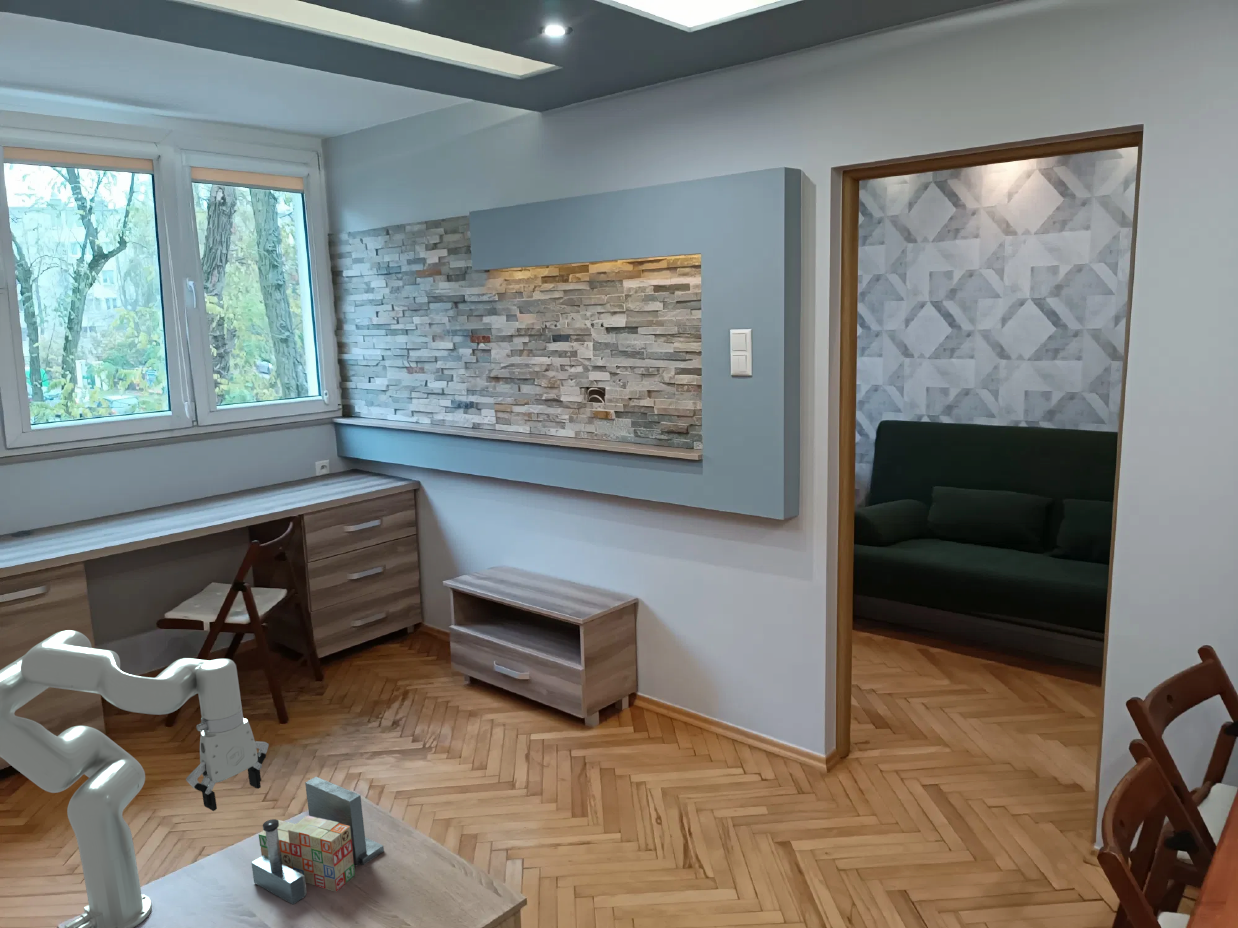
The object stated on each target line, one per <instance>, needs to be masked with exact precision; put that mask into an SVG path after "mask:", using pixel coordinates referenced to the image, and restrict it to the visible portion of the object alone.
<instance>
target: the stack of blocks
mask: <svg viewBox="0 0 1238 928" xmlns="http://www.w3.org/2000/svg"><path fill="white" fill-rule="evenodd" d="M277 820H278V821H279V827H278V828H277V829H278V837H279V845H280V853H281V860H282V864H283V865H285V866H287V867H289V868H291V869H293V870H295V871H297V872H299V873H301V874H303V875H304V876H305V883H307V884H309V885H314V886H316V887H319V888H322V889H326V890H329V891H332V892H338V891H339V890H340V889H341V888H342V887H344V886H345V884H347V882H349V881H350V880H351V879H352V878H354V877H355V876H356V875H355V874H356V873H355V872H356V871H355V865H354V863H353V852H352V850H353V849H352V839H351V830H350V826H348V825H344V824H339V823H338V822H335V821H331V820H326V819H321V818H316V817H312V816H309V814H308V815H306V816H304V817H303V818H302V819H301V820H299V821H298V822H297V823H293V822H288V821H285V820H280V819H277ZM258 842H259V846H260V853H261V856H263V855H264V856H265V855H266V856H268V857H269V854H268V847H267V839H266V831H264V830H263V831H260V833H259V834H258Z"/></svg>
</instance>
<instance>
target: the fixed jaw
mask: <svg viewBox="0 0 1238 928" xmlns="http://www.w3.org/2000/svg"><path fill="white" fill-rule="evenodd" d="M304 784H305V791H306V800H307V808H308V816H312V817H316V818H321V819H326V820H331V821H335V822H338V823H339V824H344V825H348V826H350V830H351V839H352V849H353V850H352V852H353V863H354V867H355V866H356V867H358V866H359V865H361V866H364V865H366V864H367V863H369V862H370V861H372V860H373V859H375V858H377V857H378V856H379V855H380V854H383V853H384V852H385V849H384V847H385V846H384V845H383V844H381V843H379V842H377V841H375V840H373V839H370V838H368V837H366V835H365V834H366V833H365V824H364V823H365V822H364V816H363V815H364V814H363V807H362V806H363V805H362V798H361V794H359V793H356V792H354V791H352V790H349V789H346V788H345V787H342V786H340V785H337V784H335V783H332V782H330V781H328V780H326V779H322V778H321V777H318V776H314V777H313V778H311V779H309V780H307V781H306V782H304Z"/></svg>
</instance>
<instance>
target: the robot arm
mask: <svg viewBox="0 0 1238 928" xmlns="http://www.w3.org/2000/svg"><path fill="white" fill-rule="evenodd" d="M49 688H55V689H60V690H61V689H62V690H71V691H76V692H84V693H92V694H97V695H100V696H102V698H103V699H104V700H106V702H108V703H110V704H111V705H113V706H114V707H116V708H118V709H121V710H123V711H127V712H132V713H138V714H146V715H155V716H156V715H159V716H161V715H168V714H171V713H174V712H175V711H178V709H180V708H181V707H182V706H183V705H184V704H185V703H186V702H187V701H188V700H189V699H191V698H192V697H194V696H196V695H197V694H198V700H199V707H200V715H201V718H200V721H201V722H200V723H199V724H196V726H195V727H196V731H198V732H200V738H199V740H200V741H199V763H200V764H198V766H197V767H196V768H194V769H193V770H192V771H191V772H190V774H189V775H188V776H186V778H185V781H186V782H187V783H188V784H189V785H190V786H191V788H193V789H195V790H197V791H198V792H201V794H202V800H203V806H204V807H205V808H207V809H208V810H211V811H213V812H215V811H216V810H217V809H218V807H217V799H216V793H215V792H214V791H213V789H214V787H215V785H216V783H221V782H224V781H225V780H228V779H230V778H232V777H234V776H236V775H238V774H241V773H242V772H245V771H246V770H247V775H248V782H249V785H250V787H253V788H255V789H257V790H258V789H261V787H262V786H261V782H262V777H261V769H262V766H263V764H264V763H263V762H264V761H265V759H266V757H267V752H268V748H269V745H270V744H269V743H267V742H266V741H257V740H255V737H254V734H253V733H254V732H253V731H252V727H251V725H250V722H249V720H248V719H247V718H244V715H243V713H244V712H243V707H242V701H241V700H242V699H241V691H240V684H239V677H238V669H237V664H236V663H235V661H234V660H232V659H230V658H216V659H211V660H207V659H199V658H192V657H183V658H179V659H177V660H175V661H173V662H172V663H171V664H169V665H168V666H167V667H166V668H165V669H163V670H162V671H161V672H160V673H159V674H158V675H157V676H155V677H150V676H149V677H148V676H140V675H134V674H129V673H127V672H124V671H122V670H121V659H120V656H119V655H118V653H117V652H116V651H113V650H109V649H101V648H95V647H92V643H91V641H90V638H88V637H87V636H86V635H85V634H84V633H82V632H80V631H77V630H71V629H67V630H62V631H58V632H56V633H53V634H52V635H50V636H49V637H47V638H45V639H44V640H42V641H40V642H39V643H37V644H36V645H34V646H32V647H31V648H30V649H29V650H28V651H27V652H26V653H25V654H23V656H20V657H19V658H17V659H16V660H15V661H13V662H11V663H9V664H8V665H5V667H3V668H1V669H0V758H1V759H3V760H4V761H5V762H6V763H8V764H9V765H10V766H12V768H14V769H15V770H16V771H18V773H19V772H20V774H22V775H23V776H24V777H25V778H27V779H28V780H29V781H31V782H32V783H33V784H35V785H36V786H37V787H39V788H40V789H42V791H43V790H44V791H45V792H48V793H52V794H55V793H56V794H57V793H61V792H63V791H65V790H67V789H69V788H70V787H72V786H73V784H75V783H76V782H77V781H79V780H80V779H81V777H82V776H83V775H85V776H86V777H87V778H88V779H87V780H85V781H84V782H83V783H82V784H81V785H80V786H79V787H78V789H76V791H75V792H74V793H73V795H72V796H71V798H70V800H69V802H68V805H67V809H66V810H67V811H66V812H67V819H68V821H69V824H70V826H71V828H72V831H73V832H74V835H75V838H76V843H77V846H78V851H79V857H80V861H81V866H82V873H83V878H84V884H85V891H86V896H87V903H88V905H86V906H84V907H83V911H84V913H82V914H80V917H78V918H77V919H75V920H72V921H70V922H68V923H66V924H65V925H64V928H135V927H137V926H138V925H140V924H141V923H143V921H145V920H146V919H147V918H148V916H149V915H150V913H151V911H152V908H153V906H152V900H151V898H150V897H149V896H148V895H145V894H142V889H141V883H140V876H139V871H138V870H139V869H138V864H137V857H136V852H135V846H134V845H135V844H134V841H133V835H132V834H133V833H132V829H131V828H130V826H129V825H128V824H129V823H127V822H126V821H125V819H124V816H123V813H124V812H123V811H124V810H125V808H126V807H127V806H128V805H129V804H130V803H131V801H133V799H134V798H136V796H137V795H138V794H139V793H140V791H141V790H142V789H143V787H144V784H145V783H146V772H145V770H144V768H143V766H142V765H141V763H140V762H139V761H138V760H137V759H136V758H135V757H134V756H133V755H131V754H130V753H129V752H127V751H126V750H125V749H123V748H122V747H121V746H120V745H118V743H116V742H115V741H113V740H112V739H111V738H110V737H109V736H107V735H106V734H104V733H103V732H102V731H100V730H99V729H97V728H95V727H92V726H87V725H75V726H71V727H69V728H67V729H65V730H63V731H62V732H61V733H60V734H58V735H56V734H54V733H52V732H51V731H50V730H49V729H47V728H46V727H44V726H43V725H42V724H41V723H39V722H37V721H35V720H33V719H30V718H26V717H23V716H22V717H21V716H18V715H15V712H16V711H17V710H18V709H20V708H22V707H23V706H24V705H26V704H27V703H29V702H30V701H31V700H33V699H34V698H36V697H38V695H40V694H42V693H43V692H45V691H46V690H47V689H49ZM257 749H258V750H257ZM201 776H203V778H202V780H201V782H200V781H199V780H198V779H199V778H200V777H201Z"/></svg>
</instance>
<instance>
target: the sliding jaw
mask: <svg viewBox="0 0 1238 928" xmlns="http://www.w3.org/2000/svg"><path fill="white" fill-rule="evenodd" d="M278 820H279V819H276V818H275V819H274V818H272V819H268V820H267V821H265V822H263V823H262V829H263V831H266V839H267V847H268V854H269V857H268V856H266V855H265V856H264V855H263V856H262V855H261V856H260V857H257V858H256V859H255V860H253V861H251V871H252V876H253V877H252V878H253V883H254V884H255V885H257V886H259V887H260V888H261V887H262V888H263V889H264V890H266V891H268V892H270V893H272V894H274V895H275V896H277V897H279V898H280V899H282V900H285V901H286V902H288V903H290V904H291V905H295V904H296V903H297V902H299V901H301V900H302V899H304V898H305V897H306V895H307V894H308V892H307V885H306V882H305V876H304V875H303V874H301V873H299V872H297V871H295V870H293V869H291V868H289V867H287V866H285V865H283V864H282V860H281V853H280V845H279V837H278V829H277V828H278V827H279V821H278Z"/></svg>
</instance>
